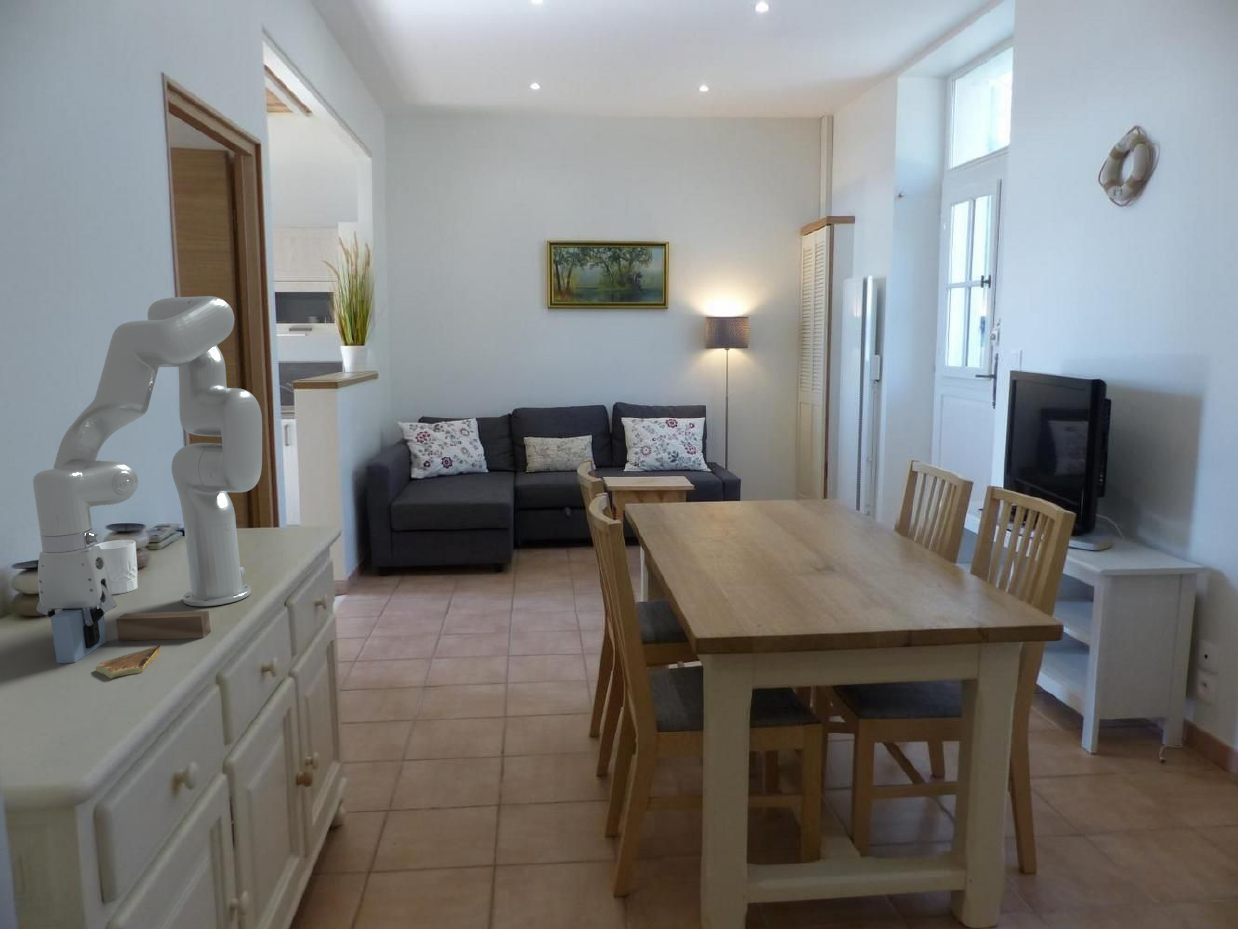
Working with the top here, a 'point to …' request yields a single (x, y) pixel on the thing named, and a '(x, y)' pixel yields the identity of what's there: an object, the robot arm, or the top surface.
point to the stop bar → (163, 625)
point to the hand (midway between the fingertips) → (81, 645)
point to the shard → (128, 663)
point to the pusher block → (73, 635)
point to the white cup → (121, 564)
